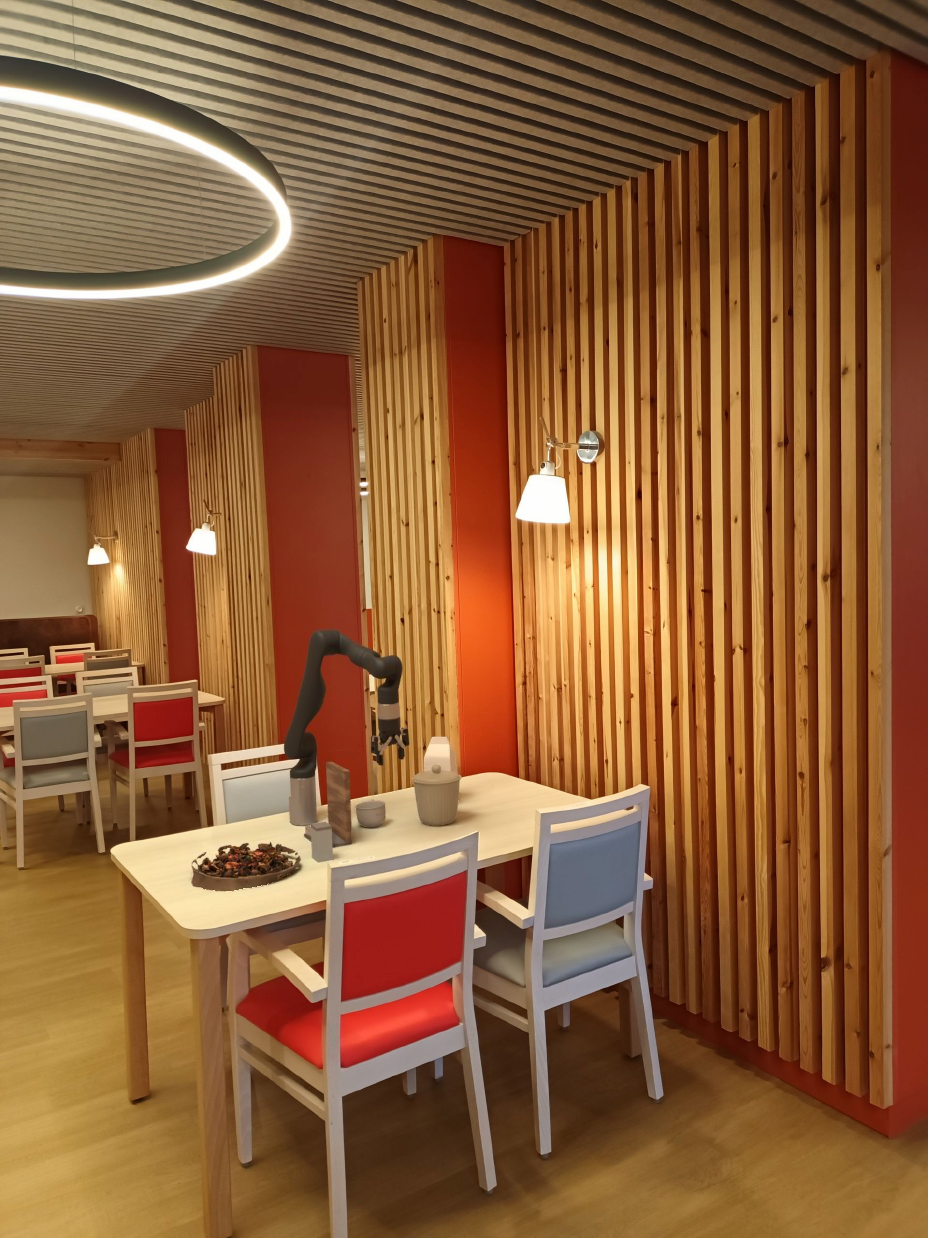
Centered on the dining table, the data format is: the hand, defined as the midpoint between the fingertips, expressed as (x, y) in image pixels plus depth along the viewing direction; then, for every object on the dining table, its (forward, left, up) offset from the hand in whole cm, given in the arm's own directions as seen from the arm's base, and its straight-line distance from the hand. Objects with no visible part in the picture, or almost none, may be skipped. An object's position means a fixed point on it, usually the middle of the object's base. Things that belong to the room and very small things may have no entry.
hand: (390, 762), depth 305 cm
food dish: (-23, -45, -28) cm, 58 cm away
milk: (-16, +52, -28) cm, 61 cm away
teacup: (-21, +15, -28) cm, 38 cm away
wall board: (-22, -8, -28) cm, 36 cm away
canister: (-1, +28, -28) cm, 39 cm away
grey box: (-10, -24, -28) cm, 38 cm away
